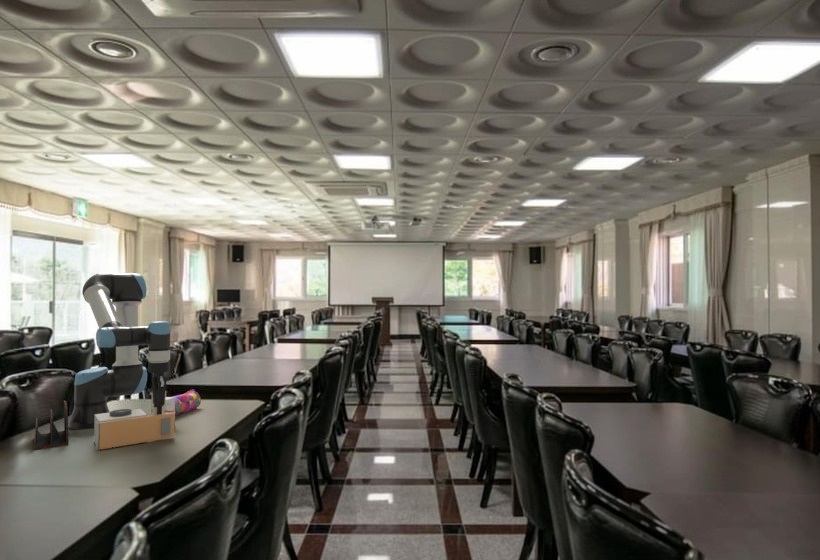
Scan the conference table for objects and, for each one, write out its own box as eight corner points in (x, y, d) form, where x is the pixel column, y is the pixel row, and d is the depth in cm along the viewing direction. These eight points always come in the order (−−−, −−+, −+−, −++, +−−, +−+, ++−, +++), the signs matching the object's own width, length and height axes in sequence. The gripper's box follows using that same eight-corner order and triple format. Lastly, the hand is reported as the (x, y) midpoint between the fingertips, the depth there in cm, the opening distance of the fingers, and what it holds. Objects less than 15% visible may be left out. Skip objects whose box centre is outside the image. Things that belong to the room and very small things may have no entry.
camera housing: (94, 441, 182) (94, 411, 183) (139, 434, 192) (140, 405, 192) (98, 449, 172) (99, 417, 172) (146, 441, 181) (147, 411, 182)
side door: (95, 449, 171) (96, 423, 171) (173, 436, 187) (173, 412, 187) (96, 450, 170) (96, 424, 170) (174, 437, 185) (174, 413, 186)
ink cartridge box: (175, 425, 205) (175, 390, 205) (165, 428, 200) (166, 392, 201) (160, 424, 208) (160, 388, 209) (150, 426, 203) (150, 391, 204)
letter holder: (66, 433, 194) (67, 397, 195) (68, 445, 178) (69, 406, 179) (34, 438, 188) (35, 401, 189) (33, 450, 173) (34, 410, 173)
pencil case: (183, 407, 240) (184, 389, 240) (202, 408, 239) (202, 389, 239) (156, 418, 218) (157, 398, 219) (177, 418, 217) (177, 398, 218)
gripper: (144, 360, 193) (144, 421, 192) (152, 364, 182) (151, 428, 181) (165, 359, 197) (165, 418, 196) (173, 362, 187) (173, 425, 186)
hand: (158, 423), depth 189 cm, fingers closed
